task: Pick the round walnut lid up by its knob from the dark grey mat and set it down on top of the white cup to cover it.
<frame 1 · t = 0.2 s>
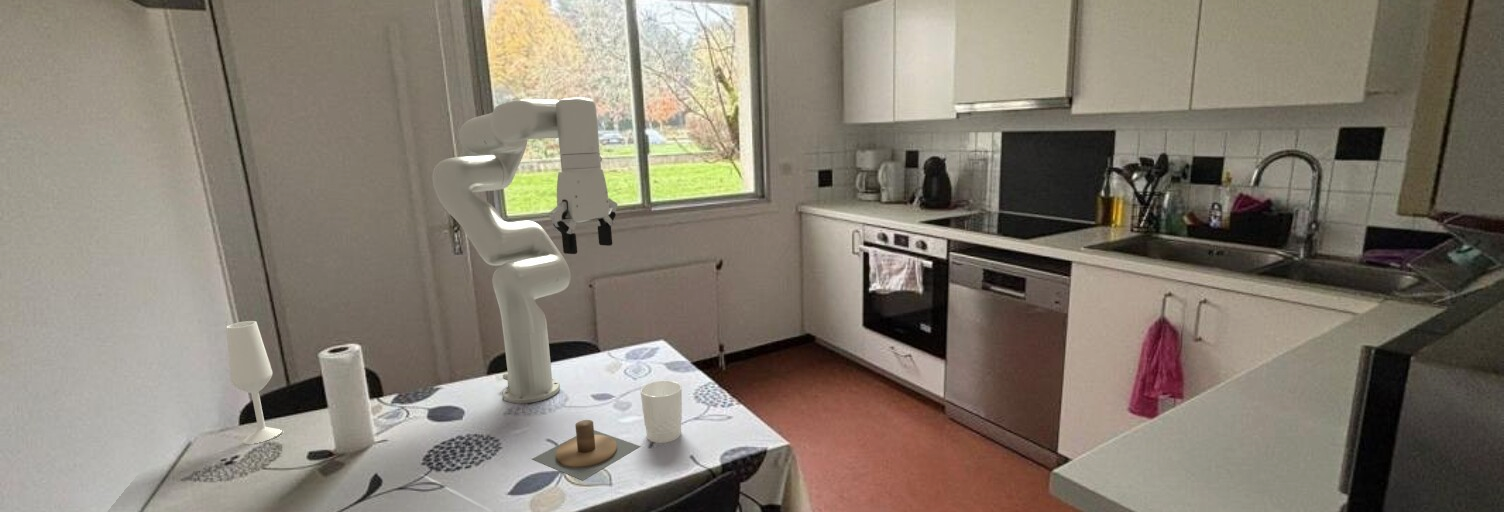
hand: (588, 249, 126), 36 cm above the table, tool pointing down, fingers open, 9 cm apart
white cup: (664, 437, 124), on the table
champagne flute: (263, 437, 130), on the table
lid: (586, 452, 118), resting on mat
mat: (587, 454, 118), on the table
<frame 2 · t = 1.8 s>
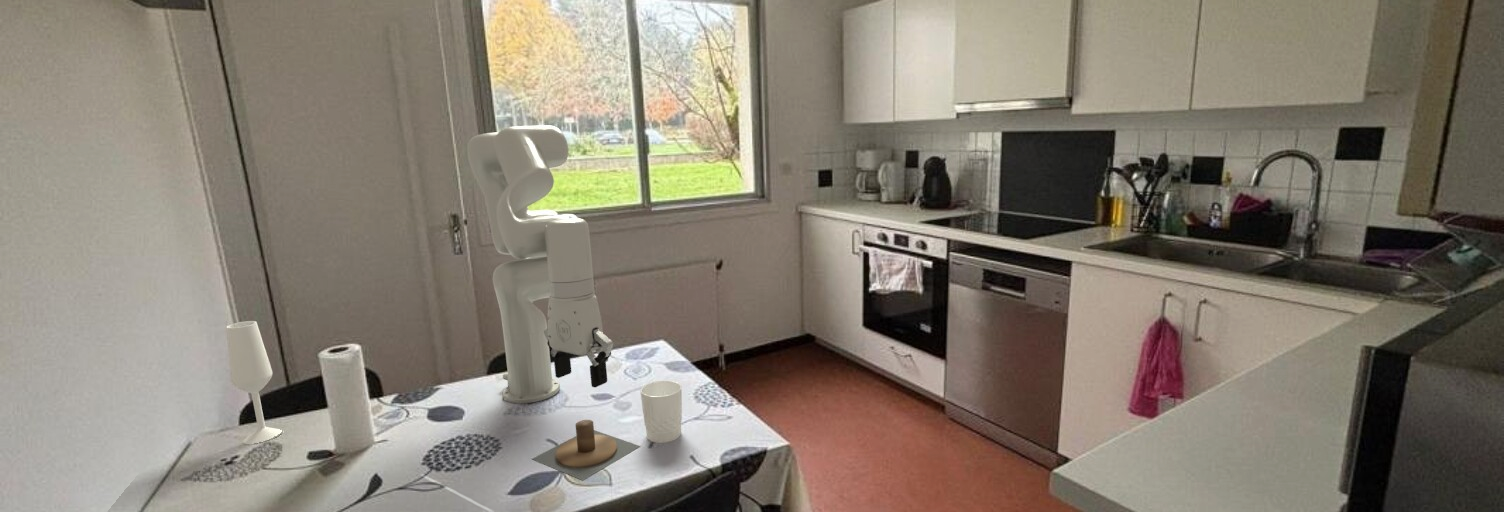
hand: (581, 380, 115), 15 cm above the table, tool pointing down, fingers open, 9 cm apart
nothing on the table moved.
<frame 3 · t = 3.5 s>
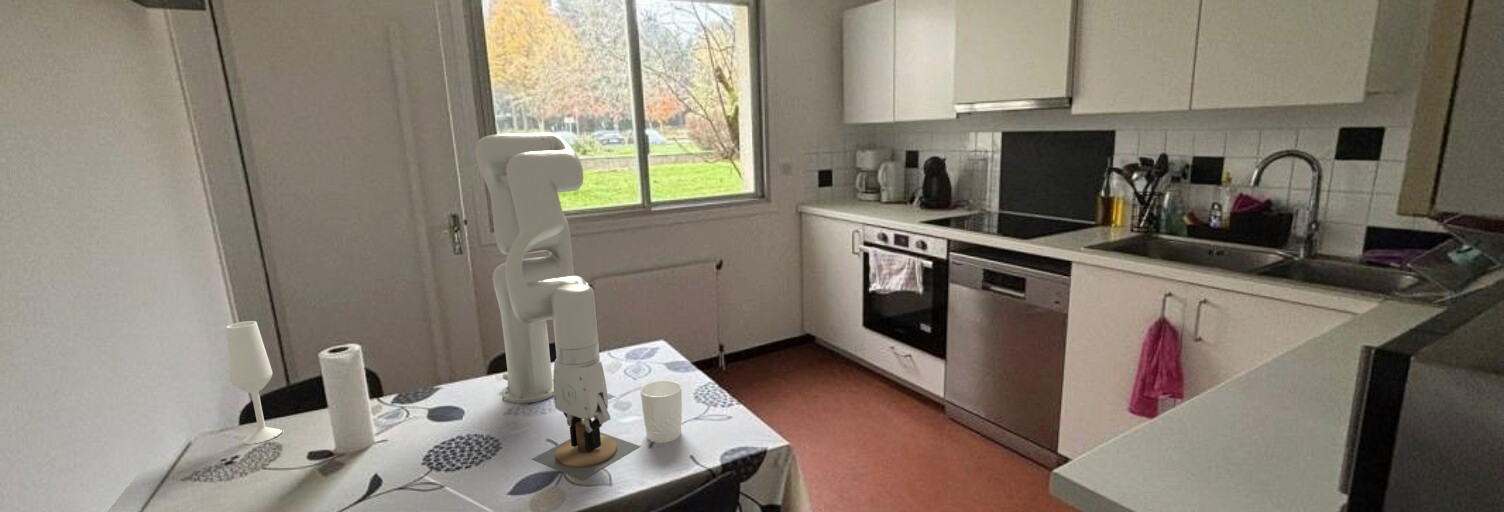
hand: (586, 445, 118), 2 cm above the table, tool pointing down, fingers closed on lid, 3 cm apart
lid: (586, 452, 118), resting on mat, touching gripper
everything else where it was.
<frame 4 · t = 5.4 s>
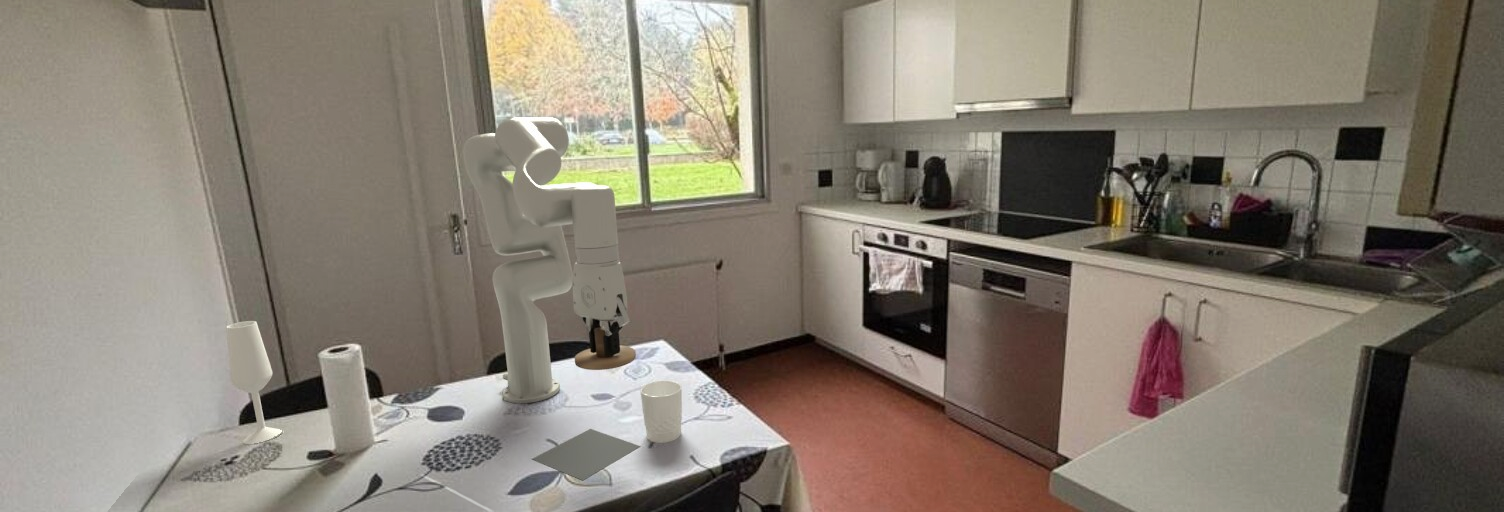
hand: (605, 351, 116), 19 cm above the table, tool pointing down, fingers closed on lid, 3 cm apart
lid: (605, 359, 117), point 18 cm above the table, touching gripper
everything else where it was.
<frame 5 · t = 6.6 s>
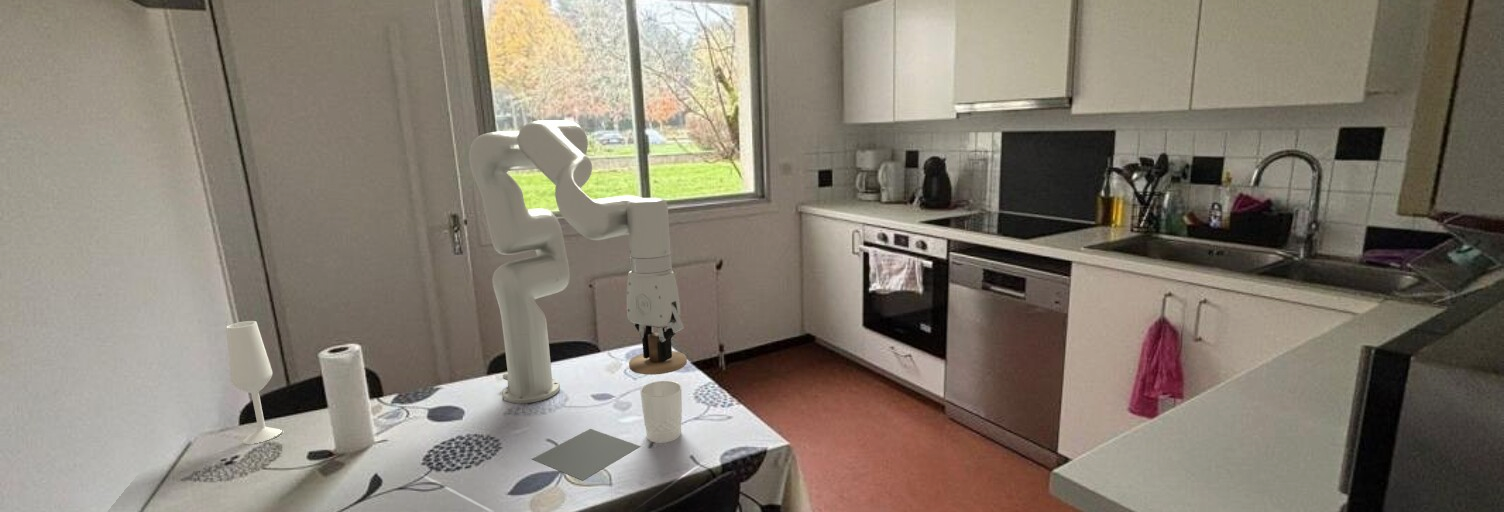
hand: (657, 357, 121), 16 cm above the table, tool pointing down, fingers closed on lid, 3 cm apart
lid: (658, 364, 121), point 15 cm above the table, touching gripper
everything else where it was.
when the fingers open (13 cm above the table, at t = 7.4 s): lid drops 1 cm, resting on white cup.
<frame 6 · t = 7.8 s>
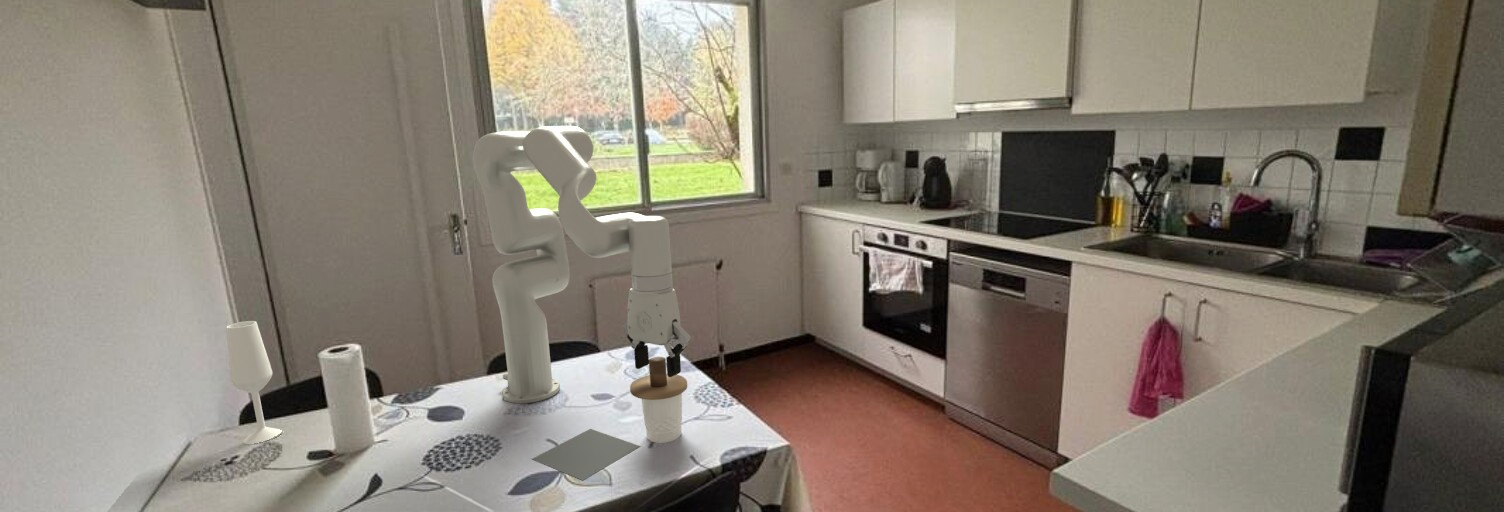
hand: (658, 370, 122), 14 cm above the table, tool pointing down, fingers open, 7 cm apart
white cup: (664, 437, 124), on the table, touching lid
lid: (659, 388, 123), point 10 cm above the table, touching white cup
everything else where it was.
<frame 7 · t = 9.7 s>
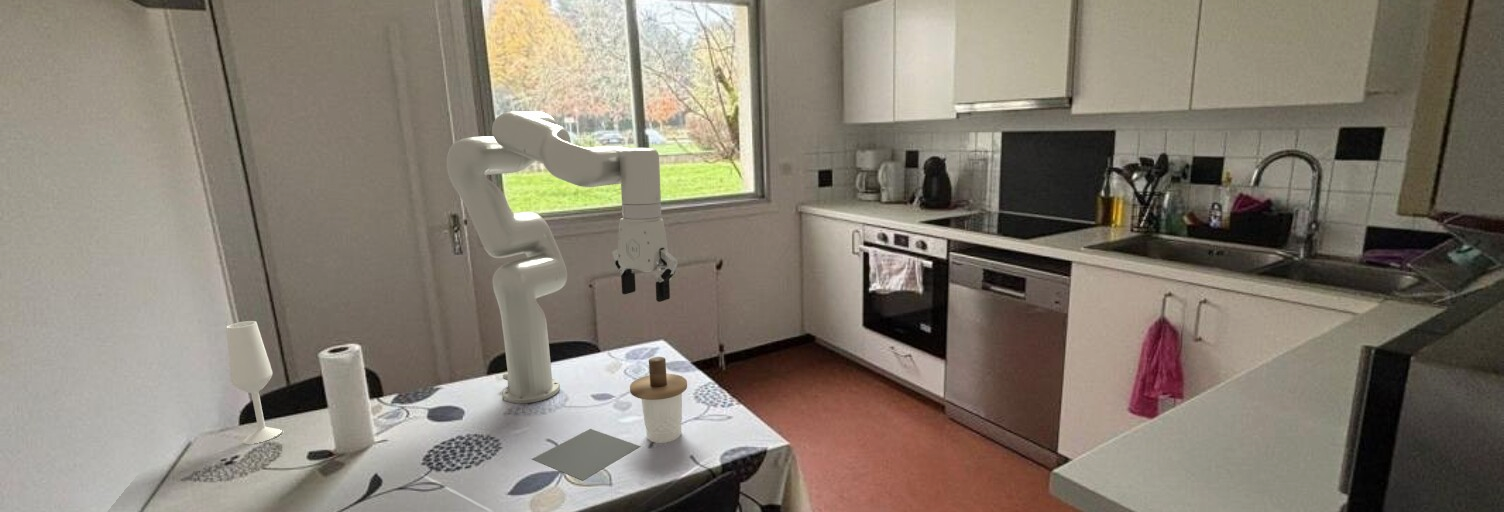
hand: (645, 296, 127), 26 cm above the table, tool pointing down, fingers open, 9 cm apart
nothing on the table moved.
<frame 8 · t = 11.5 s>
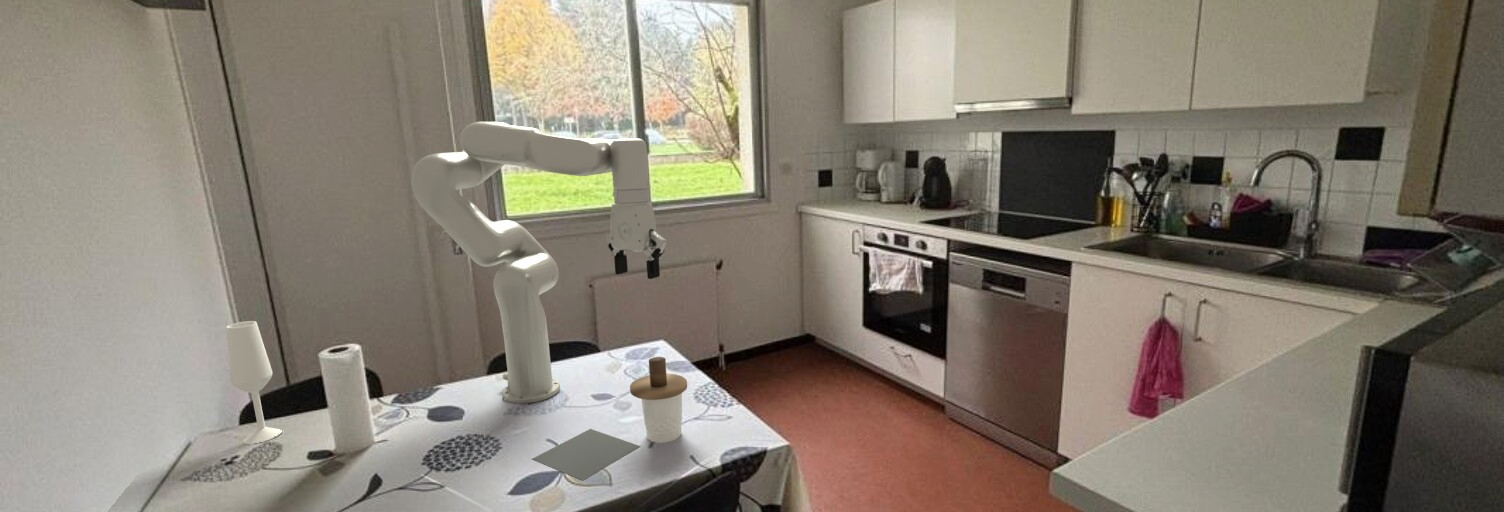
hand: (637, 275, 138), 28 cm above the table, tool pointing down, fingers open, 9 cm apart
nothing on the table moved.
at the end: lid 0.6 cm from the white cup (horizontally); lid point 9.9 cm above the table; lid tilted 0° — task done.
